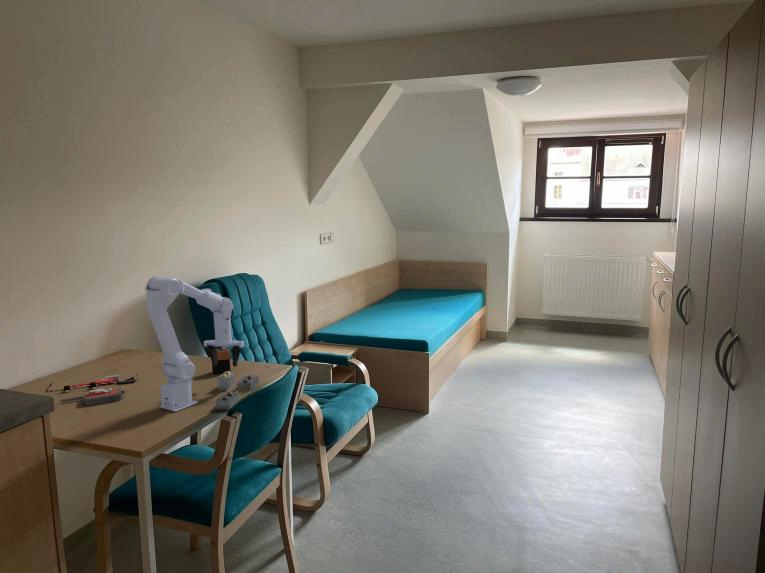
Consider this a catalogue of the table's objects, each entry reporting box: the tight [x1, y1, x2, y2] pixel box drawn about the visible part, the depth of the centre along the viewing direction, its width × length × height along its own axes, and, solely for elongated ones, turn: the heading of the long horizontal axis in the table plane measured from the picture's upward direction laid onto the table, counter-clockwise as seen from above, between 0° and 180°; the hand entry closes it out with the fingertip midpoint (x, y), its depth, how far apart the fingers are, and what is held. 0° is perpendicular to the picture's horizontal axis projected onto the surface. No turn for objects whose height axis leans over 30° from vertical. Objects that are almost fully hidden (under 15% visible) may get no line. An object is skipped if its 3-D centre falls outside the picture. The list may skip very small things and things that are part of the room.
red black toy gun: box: [46, 374, 138, 392], centre depth 211 cm, size 30×3×15 cm
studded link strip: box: [214, 374, 260, 411], centre depth 195 cm, size 26×5×4 cm, turn 172°
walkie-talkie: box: [59, 387, 125, 407], centre depth 192 cm, size 9×4×20 cm
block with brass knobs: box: [217, 371, 235, 391], centre depth 204 cm, size 6×4×6 cm, turn 172°
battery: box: [211, 347, 231, 375], centre depth 222 cm, size 4×7×10 cm, turn 111°
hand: (225, 365), depth 203 cm, fingers open, 7 cm apart
